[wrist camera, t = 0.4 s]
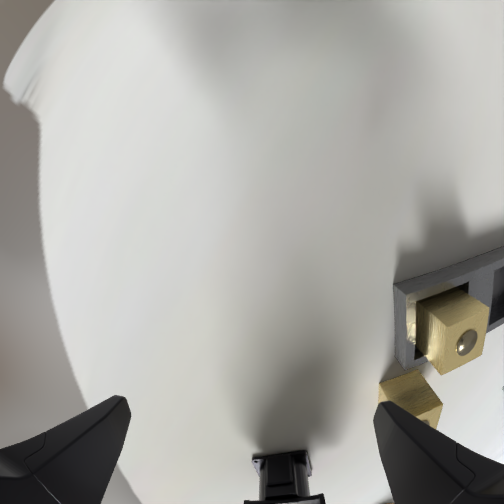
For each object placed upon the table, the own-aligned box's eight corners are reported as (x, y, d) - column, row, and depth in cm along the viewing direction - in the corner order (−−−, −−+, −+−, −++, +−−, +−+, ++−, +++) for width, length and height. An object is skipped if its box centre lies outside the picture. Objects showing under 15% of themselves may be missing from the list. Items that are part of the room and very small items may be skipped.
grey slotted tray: (510, 303, 21) (523, 310, 19) (394, 356, 23) (404, 370, 20) (515, 241, 20) (529, 246, 17) (392, 284, 21) (406, 295, 19)
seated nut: (447, 325, 22) (482, 355, 16) (410, 339, 22) (442, 376, 16) (449, 283, 21) (490, 308, 15) (411, 296, 21) (448, 328, 15)
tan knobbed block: (413, 398, 24) (435, 433, 18) (377, 411, 25) (395, 450, 19) (417, 369, 23) (443, 405, 17) (378, 383, 24) (400, 424, 18)
